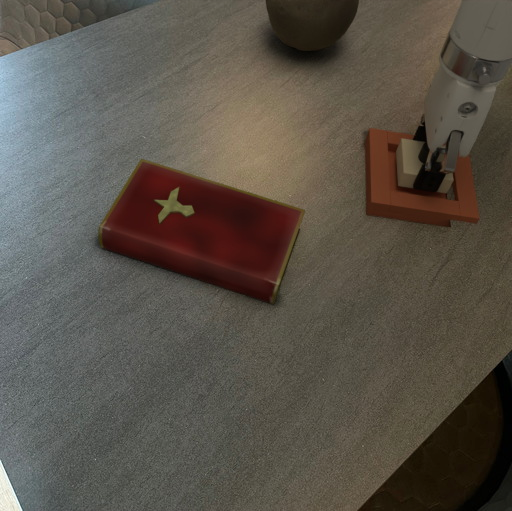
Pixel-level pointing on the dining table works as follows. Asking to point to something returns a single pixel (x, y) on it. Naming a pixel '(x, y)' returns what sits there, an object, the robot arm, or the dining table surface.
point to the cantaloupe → (311, 21)
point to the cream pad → (416, 163)
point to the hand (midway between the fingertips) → (422, 168)
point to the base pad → (409, 199)
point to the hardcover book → (203, 230)
